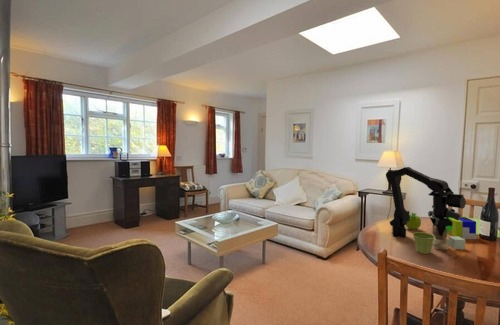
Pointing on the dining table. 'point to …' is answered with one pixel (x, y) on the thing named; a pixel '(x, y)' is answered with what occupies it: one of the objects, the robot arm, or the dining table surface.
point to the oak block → (440, 243)
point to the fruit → (414, 222)
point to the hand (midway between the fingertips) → (439, 234)
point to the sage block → (456, 242)
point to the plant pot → (423, 242)
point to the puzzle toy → (462, 228)
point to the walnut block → (436, 234)
